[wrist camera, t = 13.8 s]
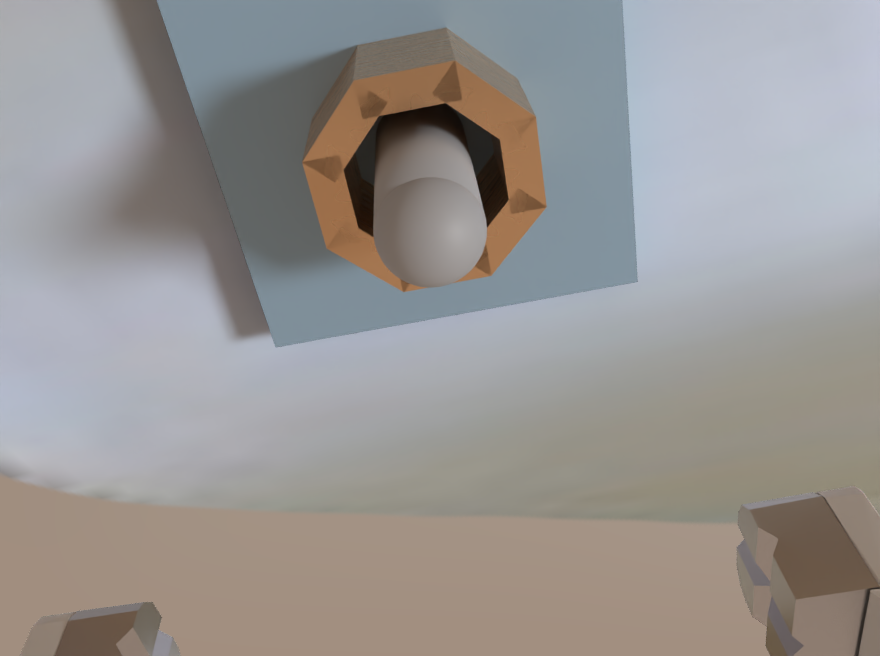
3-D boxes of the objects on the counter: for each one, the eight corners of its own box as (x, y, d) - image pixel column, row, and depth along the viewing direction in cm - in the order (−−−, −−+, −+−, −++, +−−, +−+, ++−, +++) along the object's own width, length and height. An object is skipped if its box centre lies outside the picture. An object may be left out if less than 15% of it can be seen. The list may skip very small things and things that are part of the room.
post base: (154, -48, 26) (41, 23, 17) (602, -140, 25) (714, -113, 17) (279, 326, 33) (243, 504, 25) (627, 263, 32) (713, 424, 24)
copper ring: (295, 57, 26) (282, 94, 23) (509, 14, 26) (527, 46, 22) (346, 247, 30) (342, 303, 26) (534, 212, 29) (553, 264, 26)
